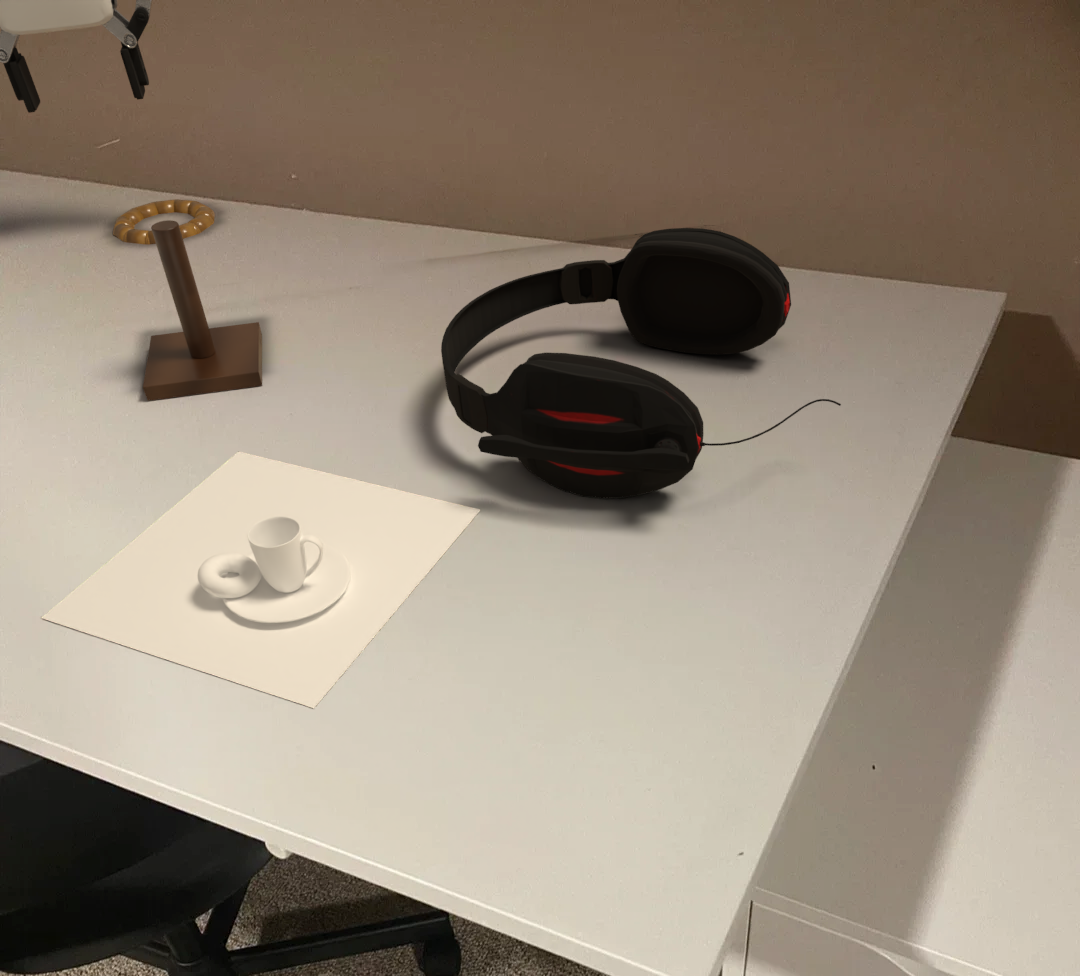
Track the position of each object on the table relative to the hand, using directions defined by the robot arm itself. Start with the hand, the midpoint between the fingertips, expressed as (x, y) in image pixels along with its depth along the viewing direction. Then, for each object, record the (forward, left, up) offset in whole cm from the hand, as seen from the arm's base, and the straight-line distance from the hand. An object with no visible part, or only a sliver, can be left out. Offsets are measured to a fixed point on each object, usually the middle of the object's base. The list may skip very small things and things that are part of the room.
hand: (87, 101), depth 94 cm
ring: (+3, 0, -11) cm, 12 cm away
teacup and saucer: (+13, -58, -13) cm, 61 cm away
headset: (+41, -47, -13) cm, 63 cm away
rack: (+8, -30, -12) cm, 34 cm away
